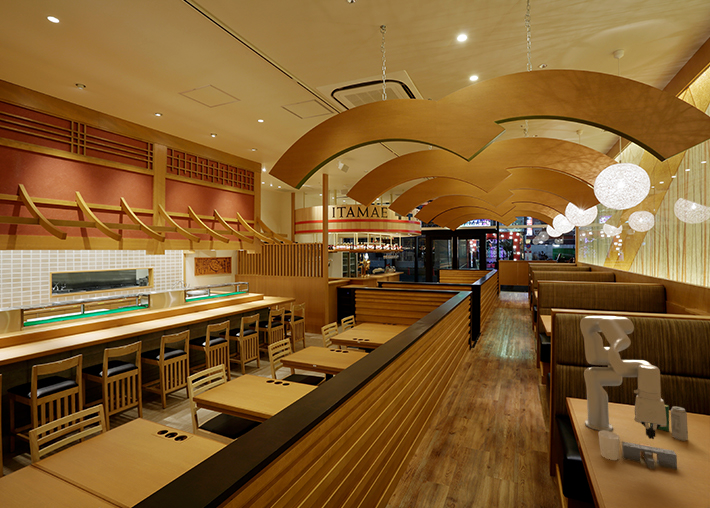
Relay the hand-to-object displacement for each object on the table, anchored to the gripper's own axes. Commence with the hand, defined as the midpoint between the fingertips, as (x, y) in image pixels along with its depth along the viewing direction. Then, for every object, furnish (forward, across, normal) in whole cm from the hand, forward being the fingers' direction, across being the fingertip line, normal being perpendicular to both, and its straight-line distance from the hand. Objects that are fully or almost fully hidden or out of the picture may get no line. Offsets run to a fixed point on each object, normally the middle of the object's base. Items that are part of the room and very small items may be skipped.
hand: (650, 437), depth 153 cm
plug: (+14, 0, +9) cm, 16 cm away
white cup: (+14, -14, +5) cm, 21 cm away
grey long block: (+14, 0, +7) cm, 16 cm away
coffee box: (+15, +12, +49) cm, 53 cm away
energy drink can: (+15, +18, +40) cm, 47 cm away
